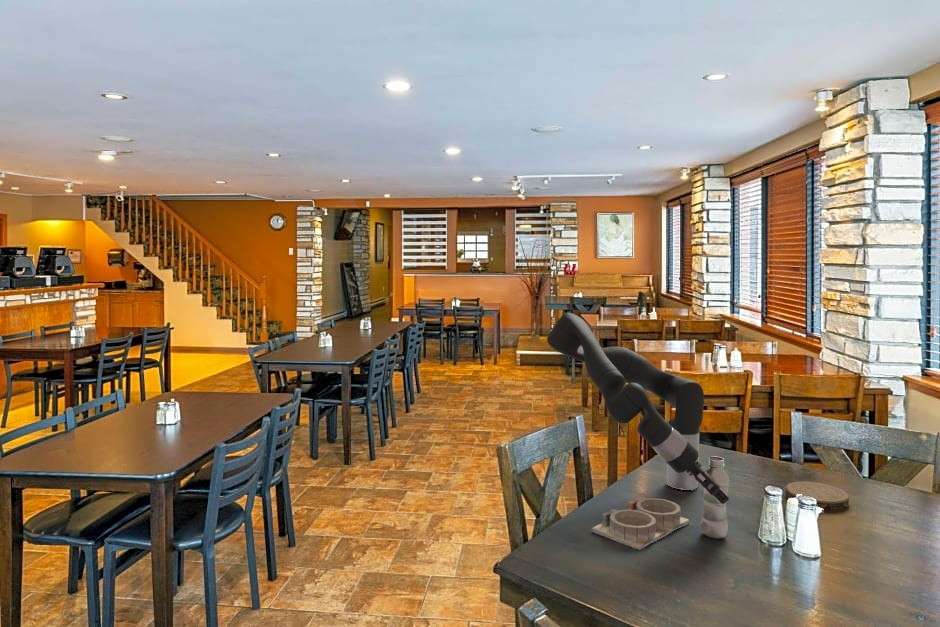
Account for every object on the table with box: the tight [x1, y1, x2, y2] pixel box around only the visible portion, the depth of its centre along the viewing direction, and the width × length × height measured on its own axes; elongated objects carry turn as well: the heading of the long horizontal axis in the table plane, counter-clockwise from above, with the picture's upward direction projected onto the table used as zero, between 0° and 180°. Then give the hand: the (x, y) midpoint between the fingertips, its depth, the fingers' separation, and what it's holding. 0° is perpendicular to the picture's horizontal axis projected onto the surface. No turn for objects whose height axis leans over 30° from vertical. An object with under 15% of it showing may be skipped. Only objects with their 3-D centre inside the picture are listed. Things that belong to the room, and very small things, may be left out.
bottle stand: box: [591, 497, 690, 548], centre depth 166 cm, size 23×14×5 cm, turn 131°
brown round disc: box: [785, 481, 850, 512], centre depth 184 cm, size 16×16×3 cm
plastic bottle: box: [700, 455, 730, 539], centre depth 160 cm, size 6×7×20 cm
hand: (720, 494), depth 160 cm, fingers open, 8 cm apart
